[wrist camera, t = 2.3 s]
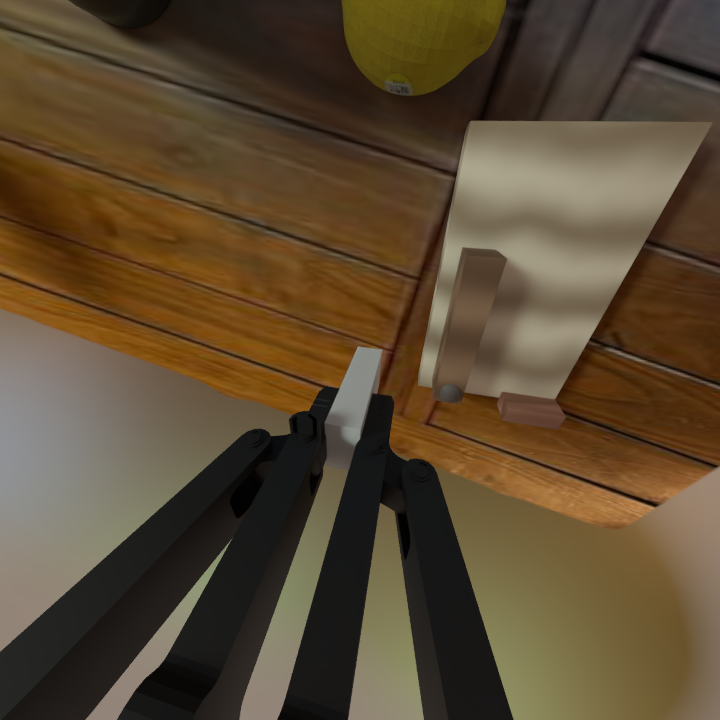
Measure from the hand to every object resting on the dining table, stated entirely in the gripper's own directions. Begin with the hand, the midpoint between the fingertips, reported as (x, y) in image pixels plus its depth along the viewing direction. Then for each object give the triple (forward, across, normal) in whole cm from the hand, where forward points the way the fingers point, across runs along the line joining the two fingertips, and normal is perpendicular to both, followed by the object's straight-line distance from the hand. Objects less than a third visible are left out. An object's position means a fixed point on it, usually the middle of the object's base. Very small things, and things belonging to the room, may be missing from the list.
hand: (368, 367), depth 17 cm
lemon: (+17, 0, +19) cm, 26 cm away
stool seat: (+17, +13, +1) cm, 21 cm away
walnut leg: (+14, +8, -2) cm, 17 cm away
